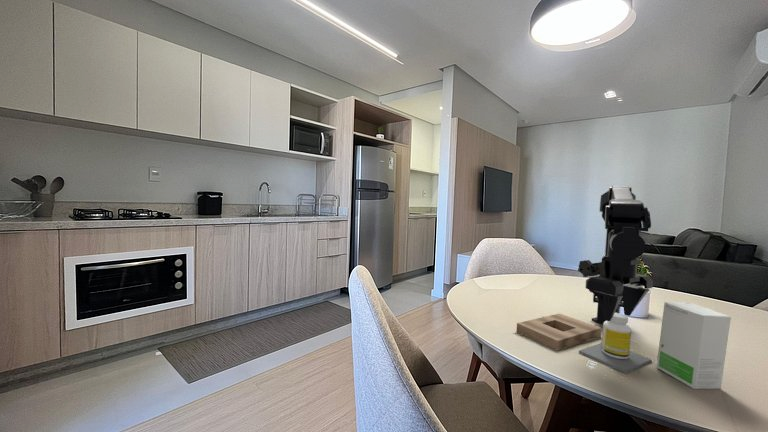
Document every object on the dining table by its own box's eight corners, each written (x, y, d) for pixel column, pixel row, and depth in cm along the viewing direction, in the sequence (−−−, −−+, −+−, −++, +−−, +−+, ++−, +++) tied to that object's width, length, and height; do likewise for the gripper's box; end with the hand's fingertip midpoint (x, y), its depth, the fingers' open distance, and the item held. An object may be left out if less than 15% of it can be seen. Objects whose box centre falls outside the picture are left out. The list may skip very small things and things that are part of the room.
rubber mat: (604, 343, 81) (605, 341, 81) (651, 361, 72) (651, 359, 72) (578, 352, 75) (579, 350, 75) (626, 373, 66) (626, 370, 66)
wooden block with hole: (559, 321, 96) (559, 313, 96) (600, 336, 85) (601, 328, 85) (516, 331, 87) (517, 323, 86) (557, 350, 76) (557, 340, 76)
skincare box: (655, 367, 69) (660, 300, 69) (681, 367, 70) (687, 301, 69) (696, 390, 61) (702, 314, 60) (725, 390, 62) (732, 314, 61)
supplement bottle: (634, 361, 71) (637, 320, 70) (608, 358, 72) (610, 317, 71) (621, 350, 76) (623, 312, 75) (596, 347, 77) (599, 310, 76)
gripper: (605, 247, 84) (601, 303, 84) (565, 249, 75) (561, 311, 76) (656, 254, 74) (651, 316, 75) (616, 257, 65) (611, 328, 66)
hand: (617, 317), depth 73 cm, fingers open, 9 cm apart
